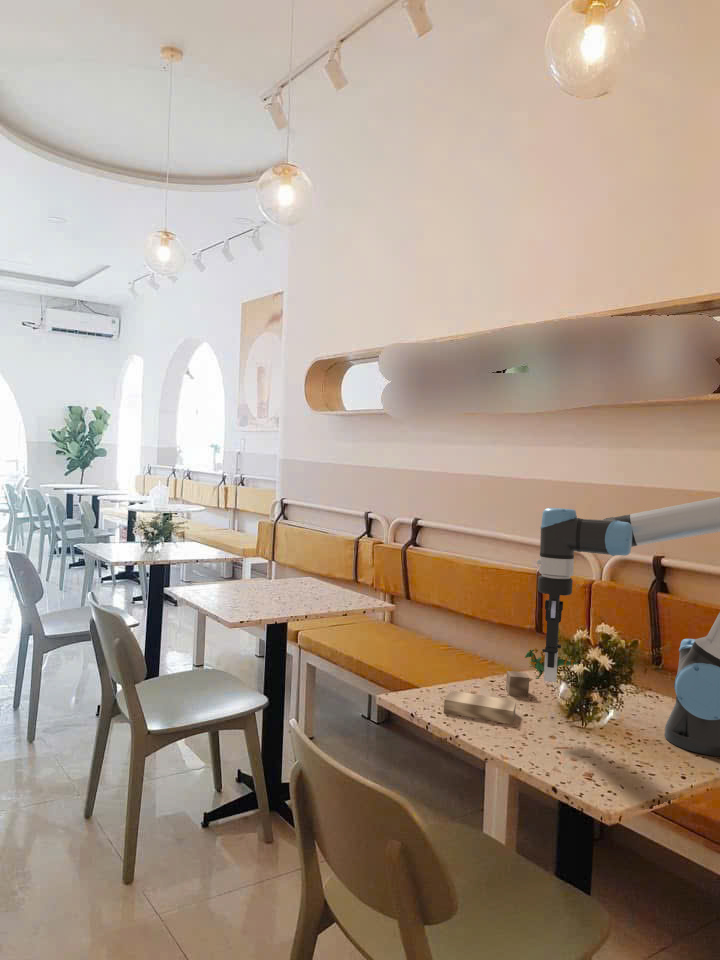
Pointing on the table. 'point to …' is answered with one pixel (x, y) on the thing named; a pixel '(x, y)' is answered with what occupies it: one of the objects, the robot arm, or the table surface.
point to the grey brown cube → (517, 683)
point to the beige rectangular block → (480, 706)
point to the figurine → (540, 661)
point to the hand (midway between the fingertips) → (550, 678)
